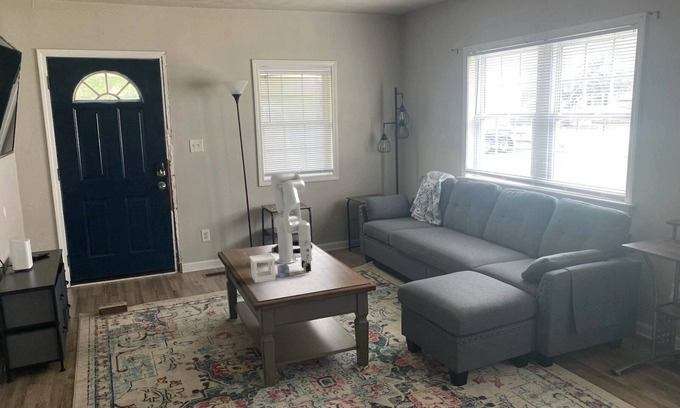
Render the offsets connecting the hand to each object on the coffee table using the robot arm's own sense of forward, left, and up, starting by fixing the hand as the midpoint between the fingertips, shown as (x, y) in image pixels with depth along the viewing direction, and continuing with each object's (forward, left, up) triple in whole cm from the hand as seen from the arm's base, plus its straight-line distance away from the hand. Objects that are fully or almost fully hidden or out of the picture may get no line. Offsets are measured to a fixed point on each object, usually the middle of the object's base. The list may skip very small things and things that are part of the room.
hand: (306, 269), depth 323 cm
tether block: (+8, 0, -2) cm, 8 cm away
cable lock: (-7, -60, -2) cm, 60 cm away
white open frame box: (+27, 0, -2) cm, 27 cm away
